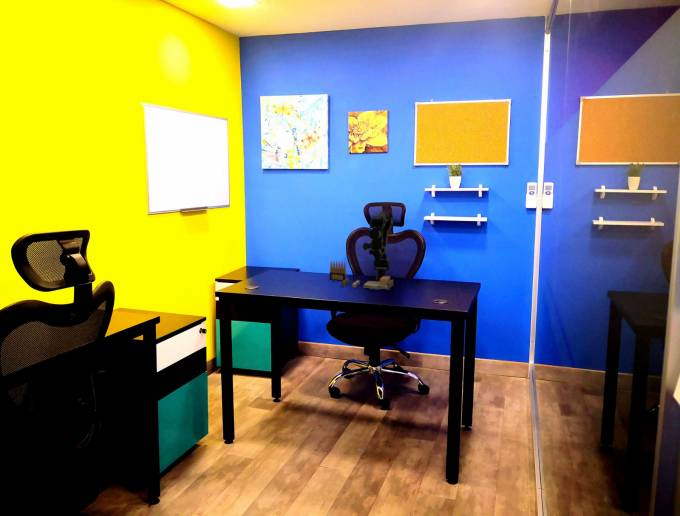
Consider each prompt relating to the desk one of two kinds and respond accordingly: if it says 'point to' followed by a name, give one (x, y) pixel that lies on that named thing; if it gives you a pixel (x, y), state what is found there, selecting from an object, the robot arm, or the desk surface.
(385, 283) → the block
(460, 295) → the desk surface
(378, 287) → the trap board
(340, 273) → the ammunition clip
